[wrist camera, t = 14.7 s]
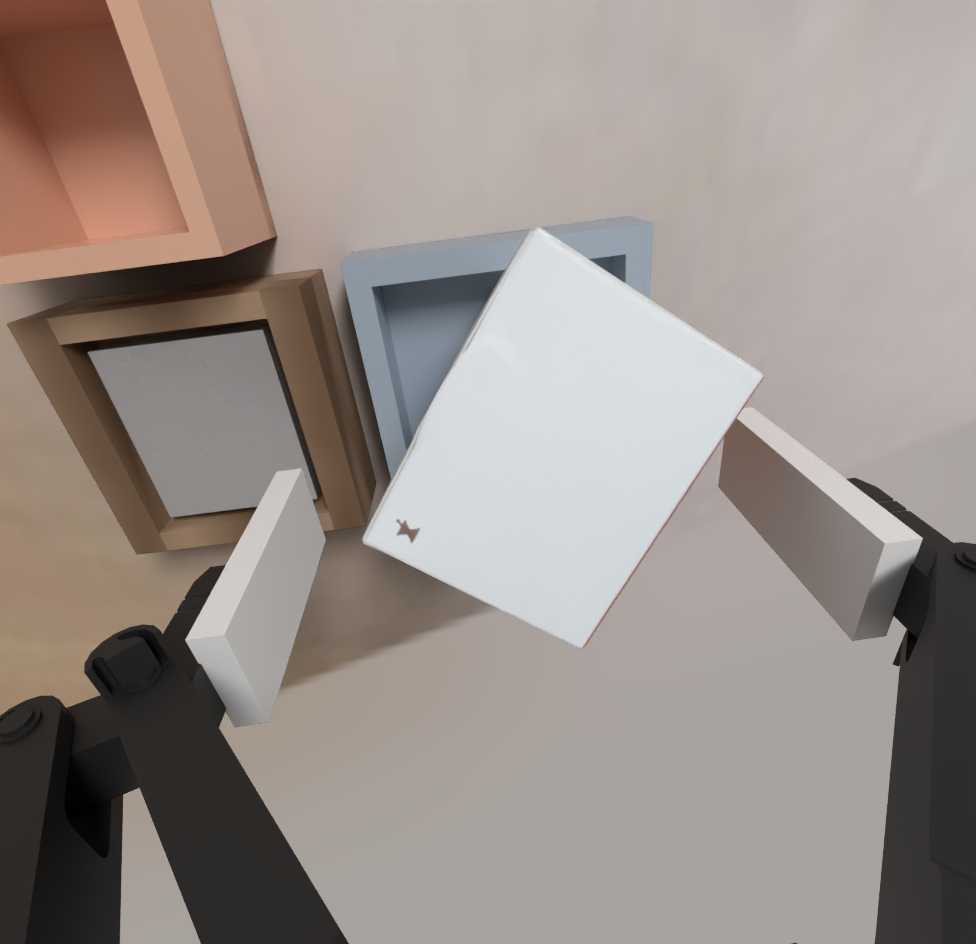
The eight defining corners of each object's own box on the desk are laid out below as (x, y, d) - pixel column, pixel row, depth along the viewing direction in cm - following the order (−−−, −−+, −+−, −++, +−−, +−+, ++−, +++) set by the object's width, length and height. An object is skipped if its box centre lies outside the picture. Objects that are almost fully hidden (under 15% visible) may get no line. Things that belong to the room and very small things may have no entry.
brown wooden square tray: (175, 507, 29) (136, 554, 25) (73, 300, 23) (6, 323, 20) (376, 482, 29) (365, 525, 25) (321, 268, 23) (298, 286, 20)
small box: (525, 504, 26) (582, 661, 13) (409, 442, 25) (350, 546, 12) (615, 356, 24) (775, 372, 12) (495, 284, 23) (528, 216, 11)
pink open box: (90, 260, 22) (-20, 287, 17) (-21, 17, 18) (-208, -43, 13) (277, 235, 22) (223, 256, 17) (205, -14, 18) (107, -85, 13)
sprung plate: (181, 503, 26) (170, 517, 25) (104, 343, 22) (87, 352, 21) (323, 485, 26) (317, 499, 25) (271, 321, 22) (262, 329, 21)
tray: (405, 487, 29) (400, 519, 26) (353, 252, 23) (339, 263, 20) (624, 459, 29) (642, 489, 26) (629, 216, 23) (652, 222, 20)
